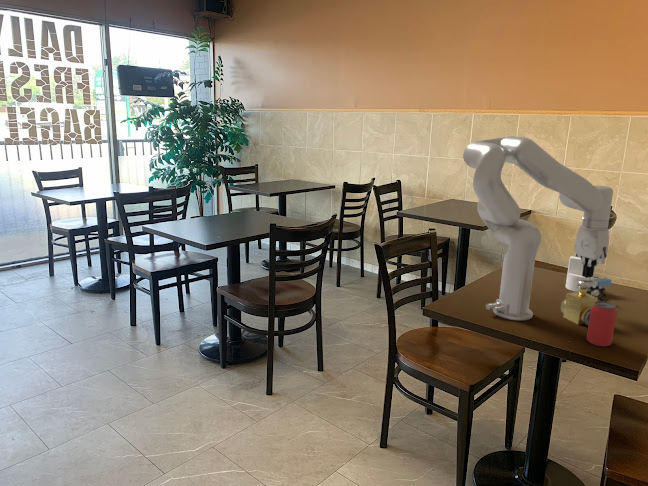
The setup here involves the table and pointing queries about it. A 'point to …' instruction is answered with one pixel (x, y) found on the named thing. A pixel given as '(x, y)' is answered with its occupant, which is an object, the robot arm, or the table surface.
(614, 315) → the beer can
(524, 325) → the table surface
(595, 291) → the valve
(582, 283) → the lever
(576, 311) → the pipe valve
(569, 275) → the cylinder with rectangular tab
